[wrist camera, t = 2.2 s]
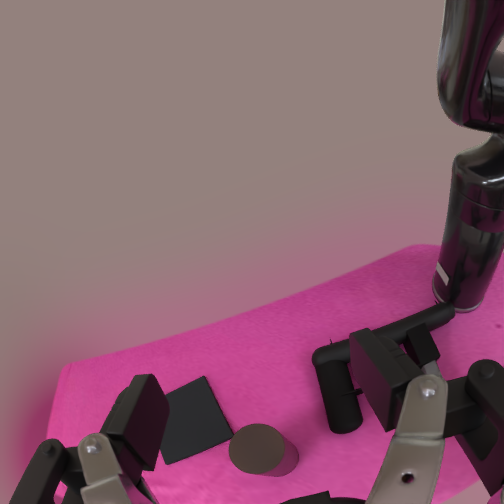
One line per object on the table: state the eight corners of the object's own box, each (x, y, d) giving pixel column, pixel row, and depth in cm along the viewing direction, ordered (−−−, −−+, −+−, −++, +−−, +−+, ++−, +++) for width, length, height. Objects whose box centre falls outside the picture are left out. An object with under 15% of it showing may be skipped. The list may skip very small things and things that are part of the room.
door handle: (496, 389, 17) (444, 288, 29) (336, 466, 19) (306, 338, 31) (484, 398, 19) (438, 302, 31) (336, 466, 21) (308, 350, 33)
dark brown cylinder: (285, 432, 26) (267, 414, 20) (306, 463, 22) (295, 456, 17) (249, 451, 25) (219, 438, 19) (268, 483, 21) (243, 482, 16)
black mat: (205, 376, 34) (203, 375, 34) (235, 436, 27) (233, 436, 26) (147, 405, 32) (145, 403, 32) (167, 465, 25) (165, 464, 24)
